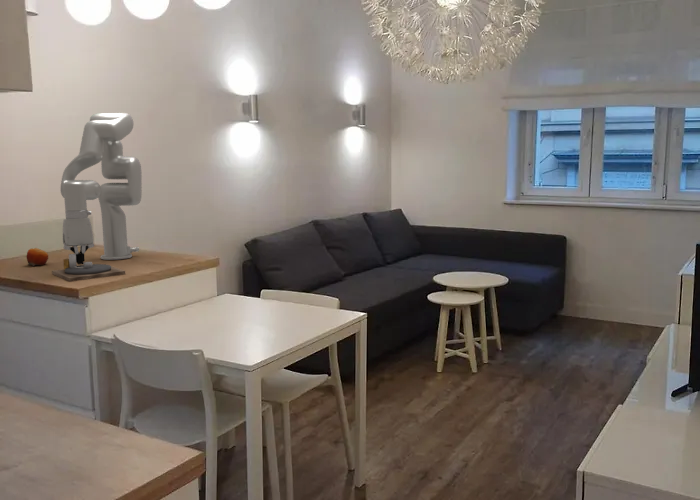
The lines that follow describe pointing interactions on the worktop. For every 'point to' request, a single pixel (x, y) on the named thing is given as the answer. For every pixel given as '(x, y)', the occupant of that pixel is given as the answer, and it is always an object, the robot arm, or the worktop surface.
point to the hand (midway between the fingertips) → (80, 263)
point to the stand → (73, 277)
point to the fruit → (36, 257)
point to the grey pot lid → (85, 267)
